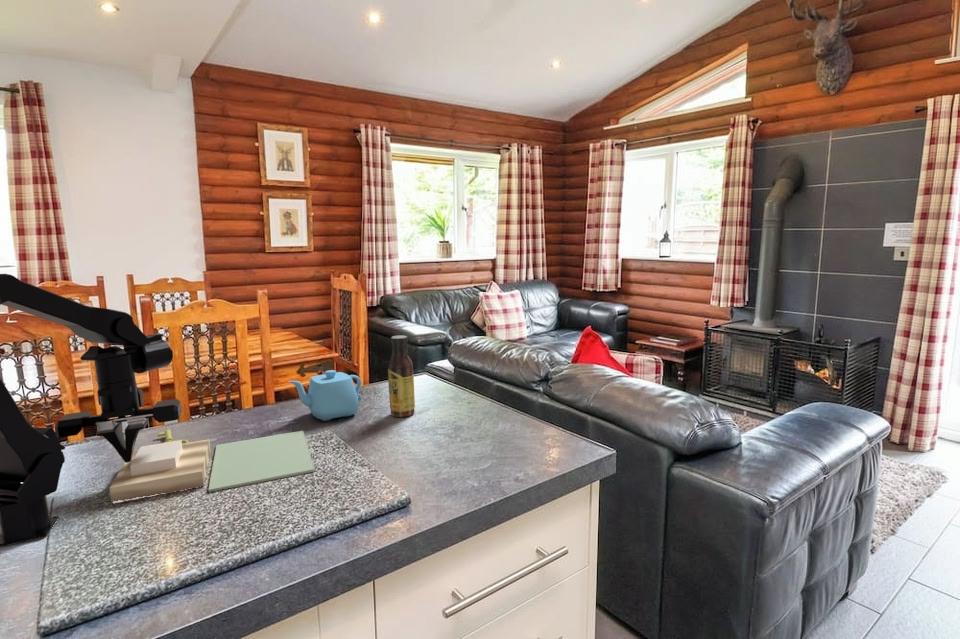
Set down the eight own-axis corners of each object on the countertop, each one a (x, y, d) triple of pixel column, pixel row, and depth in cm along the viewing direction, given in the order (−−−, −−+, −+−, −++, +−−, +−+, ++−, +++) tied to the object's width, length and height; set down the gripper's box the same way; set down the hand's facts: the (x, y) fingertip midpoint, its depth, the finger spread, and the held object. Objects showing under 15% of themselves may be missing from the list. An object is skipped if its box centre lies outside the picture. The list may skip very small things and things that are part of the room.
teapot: (286, 416, 135) (282, 373, 133) (355, 403, 144) (351, 362, 142) (297, 430, 124) (293, 382, 123) (371, 414, 133) (367, 370, 132)
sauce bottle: (387, 413, 134) (382, 335, 131) (411, 408, 137) (406, 333, 134) (394, 420, 128) (389, 339, 125) (419, 415, 131) (414, 336, 128)
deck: (203, 486, 96) (201, 471, 95) (112, 504, 90) (109, 488, 90) (210, 452, 112) (209, 439, 112) (133, 466, 107) (131, 451, 106)
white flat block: (176, 468, 97) (174, 457, 97) (131, 475, 94) (130, 465, 94) (182, 449, 106) (181, 440, 106) (142, 456, 104) (140, 446, 103)
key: (170, 437, 125) (169, 428, 124) (193, 448, 117) (192, 438, 117) (135, 446, 119) (134, 437, 119) (157, 459, 111) (156, 449, 111)
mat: (314, 471, 100) (314, 469, 100) (208, 492, 93) (208, 489, 93) (303, 432, 122) (303, 430, 122) (216, 447, 115) (216, 445, 115)
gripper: (179, 364, 107) (189, 438, 109) (67, 377, 100) (80, 456, 102) (173, 376, 97) (183, 457, 99) (47, 391, 90) (61, 478, 92)
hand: (128, 461), depth 98 cm, fingers closed
